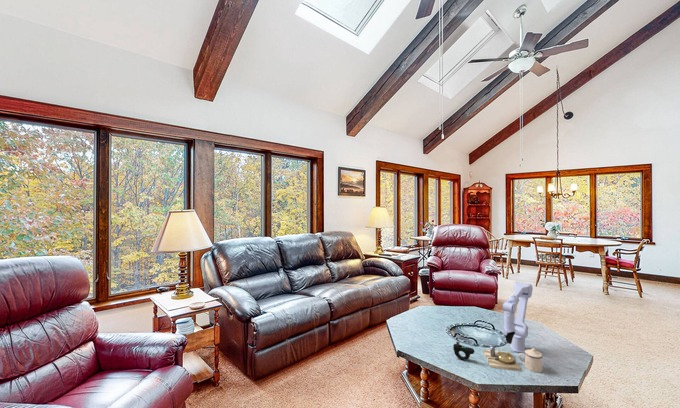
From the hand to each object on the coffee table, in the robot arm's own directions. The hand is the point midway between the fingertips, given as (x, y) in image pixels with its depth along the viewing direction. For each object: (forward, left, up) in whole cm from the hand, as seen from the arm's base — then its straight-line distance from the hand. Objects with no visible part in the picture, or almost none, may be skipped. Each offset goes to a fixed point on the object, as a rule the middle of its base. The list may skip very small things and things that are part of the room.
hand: (509, 343), depth 189 cm
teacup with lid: (+9, +9, -10) cm, 16 cm away
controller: (+9, -28, -10) cm, 31 cm away
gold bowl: (+7, -6, -7) cm, 12 cm away
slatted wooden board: (+5, -6, -9) cm, 12 cm away
